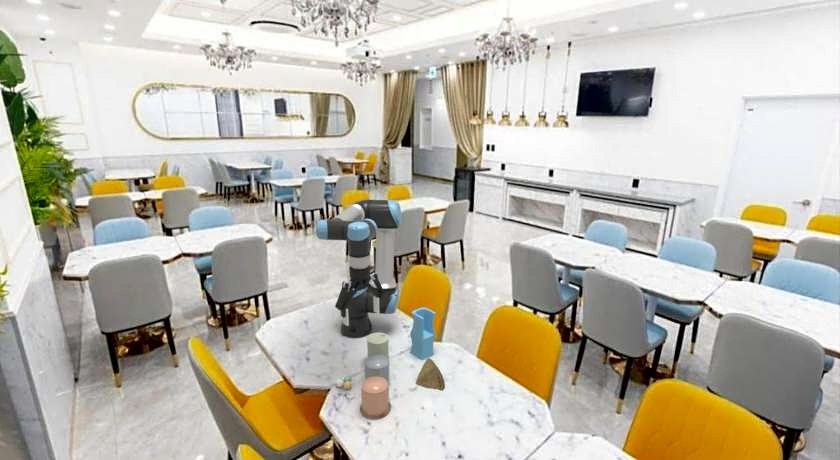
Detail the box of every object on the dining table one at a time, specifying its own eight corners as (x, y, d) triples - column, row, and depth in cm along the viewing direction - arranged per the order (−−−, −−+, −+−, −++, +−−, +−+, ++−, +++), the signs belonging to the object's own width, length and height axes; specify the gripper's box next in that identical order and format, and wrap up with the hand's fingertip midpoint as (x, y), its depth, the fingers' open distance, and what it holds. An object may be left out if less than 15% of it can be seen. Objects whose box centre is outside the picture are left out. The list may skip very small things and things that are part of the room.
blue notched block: (421, 360, 171) (422, 318, 166) (410, 352, 176) (410, 311, 171) (435, 353, 176) (436, 312, 171) (423, 346, 182) (423, 306, 176)
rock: (452, 381, 154) (437, 365, 161) (444, 371, 148) (428, 356, 156) (433, 402, 151) (418, 385, 159) (424, 393, 146) (409, 377, 153)
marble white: (341, 382, 155) (341, 376, 155) (345, 386, 153) (344, 379, 152) (334, 385, 154) (334, 379, 153) (338, 389, 151) (338, 383, 151)
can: (393, 361, 170) (393, 336, 166) (377, 371, 163) (376, 345, 160) (379, 353, 176) (378, 329, 173) (362, 362, 169) (362, 337, 166)
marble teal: (349, 379, 158) (348, 372, 157) (353, 383, 155) (352, 376, 155) (342, 382, 156) (342, 375, 155) (346, 386, 154) (346, 379, 153)
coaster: (379, 394, 149) (379, 392, 149) (397, 409, 141) (397, 408, 141) (354, 406, 142) (354, 405, 142) (371, 424, 134) (371, 422, 134)
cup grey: (380, 372, 163) (379, 352, 160) (393, 383, 156) (393, 362, 153) (361, 380, 157) (360, 360, 154) (374, 392, 150) (373, 371, 148)
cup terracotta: (393, 408, 141) (393, 385, 139) (371, 419, 135) (371, 396, 133) (378, 394, 148) (378, 373, 146) (357, 405, 142) (356, 383, 140)
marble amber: (349, 384, 154) (348, 378, 154) (353, 388, 152) (352, 381, 151) (342, 388, 152) (342, 381, 152) (346, 391, 150) (346, 385, 149)
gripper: (381, 254, 153) (382, 304, 159) (323, 271, 137) (326, 325, 143) (393, 260, 147) (394, 311, 153) (334, 277, 131) (337, 334, 137)
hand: (361, 318), depth 148 cm, fingers open, 13 cm apart
